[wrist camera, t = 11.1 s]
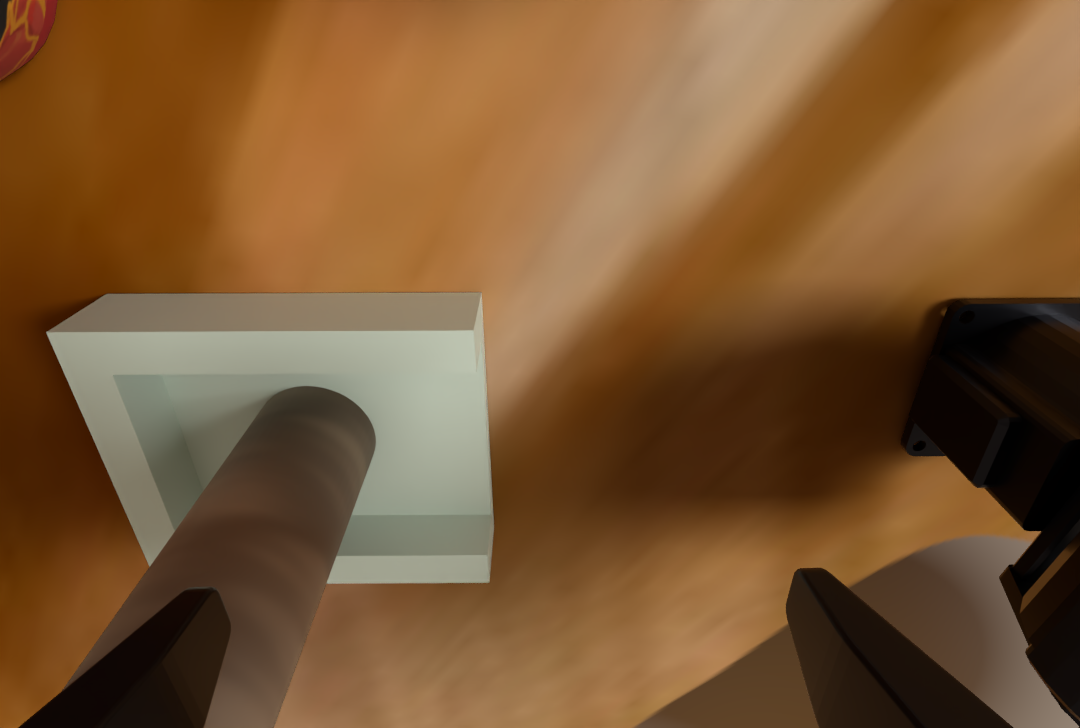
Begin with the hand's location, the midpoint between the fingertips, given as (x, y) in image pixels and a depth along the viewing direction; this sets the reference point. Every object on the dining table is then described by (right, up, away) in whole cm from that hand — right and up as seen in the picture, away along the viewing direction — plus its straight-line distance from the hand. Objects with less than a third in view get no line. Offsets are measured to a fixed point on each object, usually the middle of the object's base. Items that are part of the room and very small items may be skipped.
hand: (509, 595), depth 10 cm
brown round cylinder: (-8, +1, +14) cm, 16 cm away
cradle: (-8, +1, +14) cm, 16 cm away
